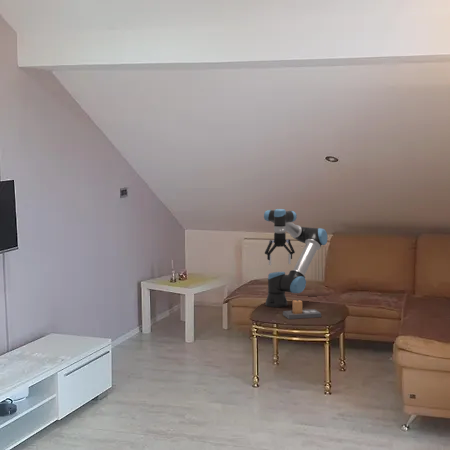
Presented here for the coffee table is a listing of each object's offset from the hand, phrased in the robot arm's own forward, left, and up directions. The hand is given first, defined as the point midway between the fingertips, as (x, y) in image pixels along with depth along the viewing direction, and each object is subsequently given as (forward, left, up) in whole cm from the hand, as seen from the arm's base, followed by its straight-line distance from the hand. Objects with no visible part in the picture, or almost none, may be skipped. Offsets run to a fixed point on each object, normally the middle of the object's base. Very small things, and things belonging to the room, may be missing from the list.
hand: (279, 264), depth 456 cm
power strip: (+16, +10, -32) cm, 37 cm away
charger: (+16, +7, -32) cm, 36 cm away
